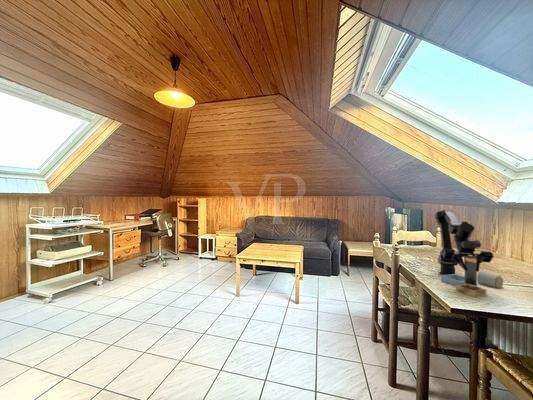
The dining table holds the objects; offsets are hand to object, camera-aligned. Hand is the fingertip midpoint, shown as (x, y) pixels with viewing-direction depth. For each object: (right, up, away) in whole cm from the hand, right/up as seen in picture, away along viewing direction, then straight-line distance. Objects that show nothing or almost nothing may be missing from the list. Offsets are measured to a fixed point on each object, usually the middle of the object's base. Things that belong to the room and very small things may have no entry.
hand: (471, 270), depth 109 cm
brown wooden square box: (+1, -12, +1) cm, 12 cm away
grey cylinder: (+21, -12, +12) cm, 27 cm away
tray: (+5, -12, +14) cm, 19 cm away
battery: (+1, -7, +1) cm, 7 cm away
